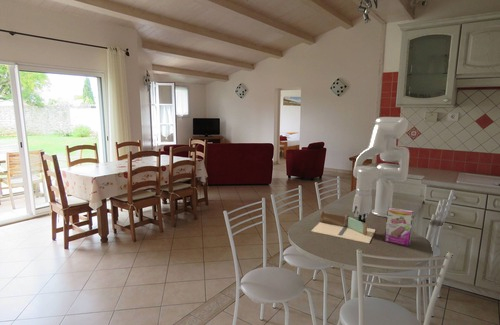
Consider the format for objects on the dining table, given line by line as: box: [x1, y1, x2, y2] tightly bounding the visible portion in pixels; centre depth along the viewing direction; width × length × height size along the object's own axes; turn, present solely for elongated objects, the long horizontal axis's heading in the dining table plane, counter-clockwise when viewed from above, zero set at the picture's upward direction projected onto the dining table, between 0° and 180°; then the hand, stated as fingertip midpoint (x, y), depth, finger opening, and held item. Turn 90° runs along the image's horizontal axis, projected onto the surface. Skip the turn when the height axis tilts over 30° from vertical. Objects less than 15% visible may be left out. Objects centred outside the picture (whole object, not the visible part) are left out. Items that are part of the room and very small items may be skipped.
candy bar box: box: [384, 207, 414, 247], centre depth 148 cm, size 11×5×16 cm, turn 59°
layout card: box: [310, 221, 376, 244], centre depth 163 cm, size 20×29×1 cm
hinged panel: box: [348, 216, 368, 235], centre depth 161 cm, size 2×12×6 cm, turn 29°
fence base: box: [319, 210, 350, 227], centre depth 171 cm, size 2×16×7 cm, turn 60°
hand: (361, 225), depth 163 cm, fingers closed
